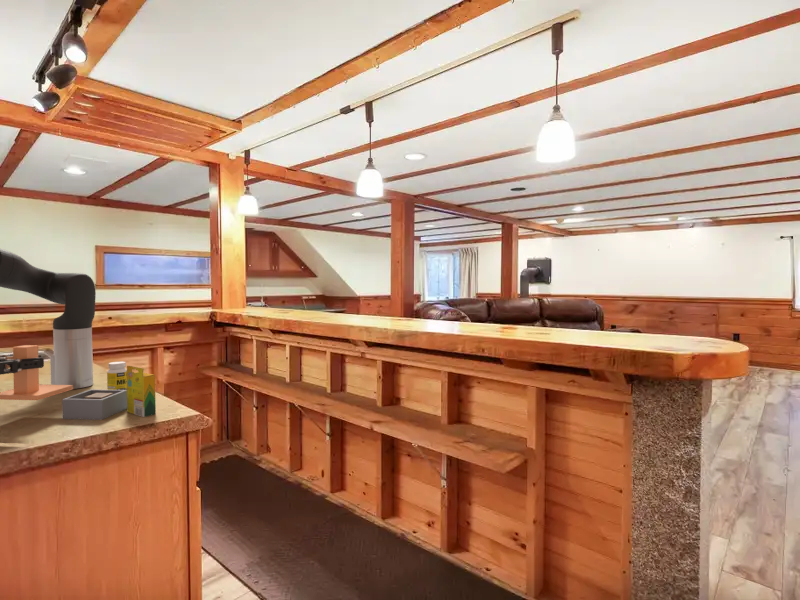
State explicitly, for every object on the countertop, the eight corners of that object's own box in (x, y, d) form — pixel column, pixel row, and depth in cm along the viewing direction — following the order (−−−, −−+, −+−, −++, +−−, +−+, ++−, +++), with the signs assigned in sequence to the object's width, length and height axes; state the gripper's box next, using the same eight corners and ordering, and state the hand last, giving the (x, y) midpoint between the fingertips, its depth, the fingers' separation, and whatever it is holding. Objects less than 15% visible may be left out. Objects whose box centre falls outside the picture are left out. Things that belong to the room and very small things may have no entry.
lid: (-9, 399, 96) (-10, 347, 96) (31, 388, 106) (30, 341, 106) (37, 400, 96) (36, 348, 95) (73, 389, 106) (72, 342, 105)
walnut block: (85, 414, 104) (84, 397, 104) (97, 409, 108) (96, 392, 108) (102, 414, 104) (101, 397, 104) (113, 409, 108) (113, 393, 108)
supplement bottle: (117, 395, 124) (117, 364, 123) (103, 394, 124) (102, 363, 124) (131, 390, 128) (131, 361, 128) (117, 389, 129) (116, 360, 129)
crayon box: (156, 416, 105) (155, 366, 105) (143, 419, 103) (142, 368, 102) (139, 411, 109) (138, 363, 108) (126, 414, 107) (125, 365, 106)
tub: (62, 421, 101) (62, 399, 101) (91, 409, 110) (91, 389, 110) (102, 422, 100) (101, 399, 100) (127, 410, 109) (127, 390, 109)
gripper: (-72, 355, 84) (45, 347, 95) (-67, 347, 94) (38, 340, 106) (-71, 396, 84) (46, 383, 96) (-66, 382, 94) (39, 372, 106)
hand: (41, 360), depth 101 cm, fingers closed on lid, 4 cm apart
